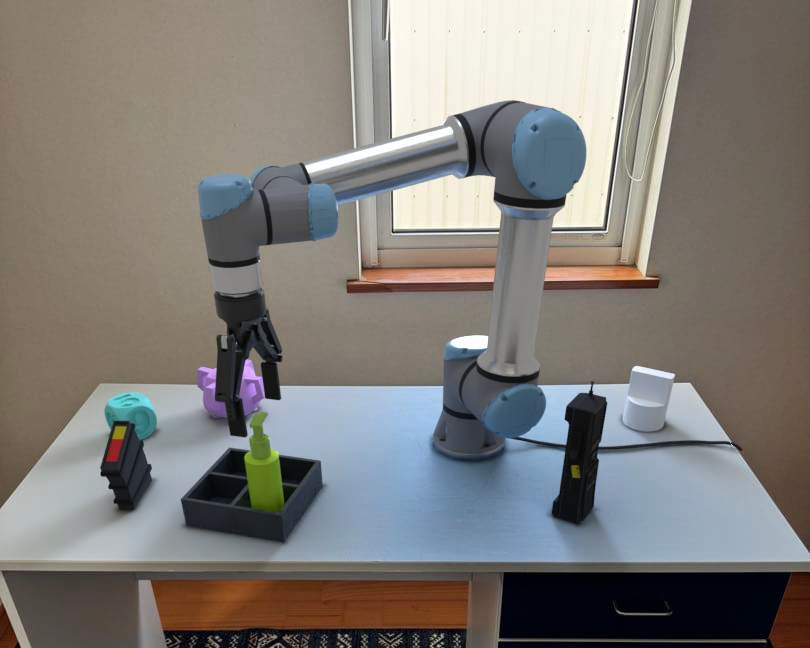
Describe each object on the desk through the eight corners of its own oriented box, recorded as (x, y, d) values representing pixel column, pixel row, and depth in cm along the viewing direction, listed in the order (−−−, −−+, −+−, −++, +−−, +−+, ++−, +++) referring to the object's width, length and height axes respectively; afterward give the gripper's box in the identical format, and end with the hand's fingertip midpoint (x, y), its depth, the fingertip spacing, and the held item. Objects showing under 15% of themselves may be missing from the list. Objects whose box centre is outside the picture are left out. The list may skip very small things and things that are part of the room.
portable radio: (579, 528, 137) (600, 403, 122) (548, 518, 140) (565, 394, 125) (594, 508, 142) (616, 385, 127) (564, 498, 145) (582, 377, 130)
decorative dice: (141, 421, 171) (134, 388, 166) (160, 433, 166) (153, 400, 162) (109, 433, 166) (100, 400, 162) (127, 445, 162) (118, 412, 157)
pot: (223, 390, 184) (216, 344, 177) (287, 402, 179) (282, 355, 172) (180, 423, 170) (171, 375, 163) (248, 436, 165) (241, 387, 158)
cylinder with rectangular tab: (617, 425, 169) (626, 375, 162) (630, 409, 175) (639, 360, 168) (656, 435, 165) (668, 384, 158) (668, 418, 171) (680, 369, 164)
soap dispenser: (290, 506, 141) (279, 410, 129) (281, 528, 136) (269, 429, 124) (259, 505, 142) (245, 408, 130) (249, 526, 136) (234, 427, 124)
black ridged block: (158, 464, 152) (132, 419, 139) (144, 521, 146) (115, 479, 133) (139, 464, 152) (112, 418, 139) (125, 520, 146) (94, 479, 133)
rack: (322, 485, 149) (320, 460, 145) (284, 542, 134) (281, 515, 130) (233, 472, 153) (229, 447, 150) (186, 525, 138) (180, 499, 135)
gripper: (251, 263, 124) (266, 382, 136) (174, 316, 105) (201, 449, 117) (293, 266, 122) (305, 387, 135) (223, 321, 103) (245, 455, 116)
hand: (256, 416), depth 126 cm, fingers open, 13 cm apart
